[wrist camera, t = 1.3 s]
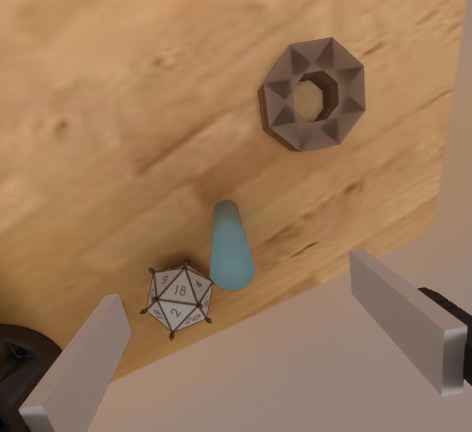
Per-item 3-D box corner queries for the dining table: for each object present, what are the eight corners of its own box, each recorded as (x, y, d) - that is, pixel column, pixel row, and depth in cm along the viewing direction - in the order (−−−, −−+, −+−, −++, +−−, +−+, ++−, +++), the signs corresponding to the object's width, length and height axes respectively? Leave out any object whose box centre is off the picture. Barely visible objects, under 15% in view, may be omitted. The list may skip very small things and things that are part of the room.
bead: (266, 154, 32) (273, 156, 28) (253, 62, 29) (259, 49, 25) (348, 140, 32) (366, 139, 28) (343, 46, 29) (362, 32, 25)
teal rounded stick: (216, 225, 34) (214, 294, 18) (211, 202, 33) (205, 254, 17) (239, 221, 34) (257, 286, 18) (235, 198, 33) (250, 245, 17)
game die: (197, 258, 39) (241, 269, 31) (186, 318, 38) (229, 346, 30) (135, 250, 33) (170, 262, 25) (121, 320, 32) (152, 355, 24)
